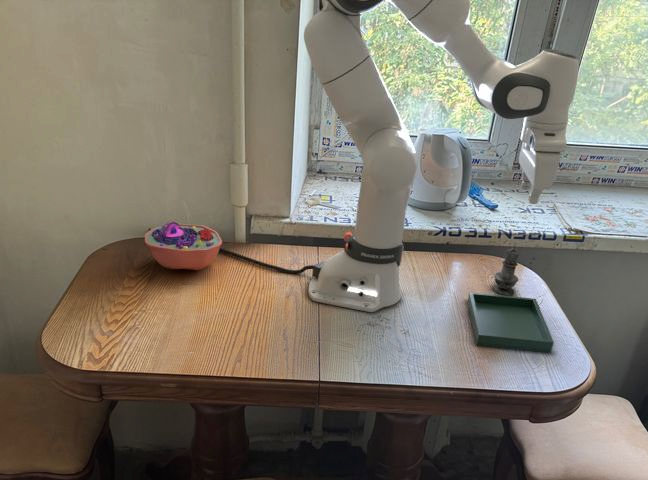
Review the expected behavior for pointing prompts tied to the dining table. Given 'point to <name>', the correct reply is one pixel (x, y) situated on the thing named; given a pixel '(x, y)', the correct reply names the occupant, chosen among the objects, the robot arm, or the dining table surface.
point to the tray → (508, 322)
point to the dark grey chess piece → (507, 274)
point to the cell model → (183, 245)
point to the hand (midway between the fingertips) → (528, 195)
